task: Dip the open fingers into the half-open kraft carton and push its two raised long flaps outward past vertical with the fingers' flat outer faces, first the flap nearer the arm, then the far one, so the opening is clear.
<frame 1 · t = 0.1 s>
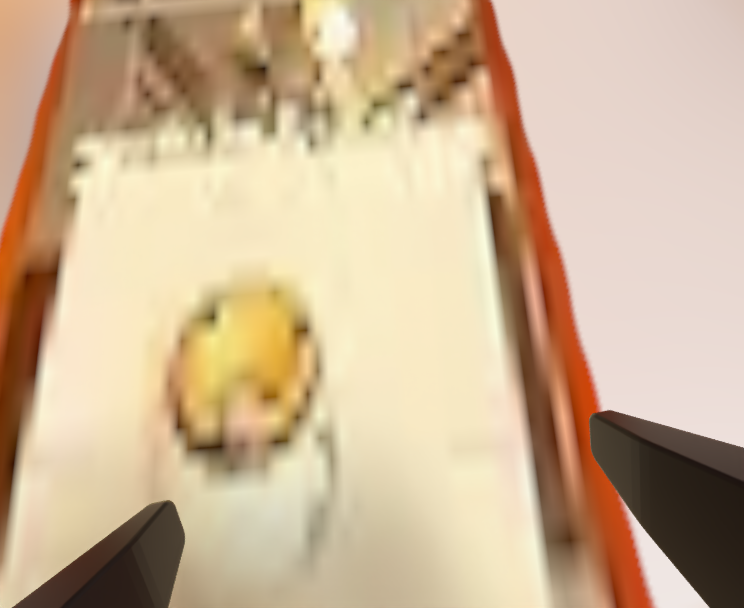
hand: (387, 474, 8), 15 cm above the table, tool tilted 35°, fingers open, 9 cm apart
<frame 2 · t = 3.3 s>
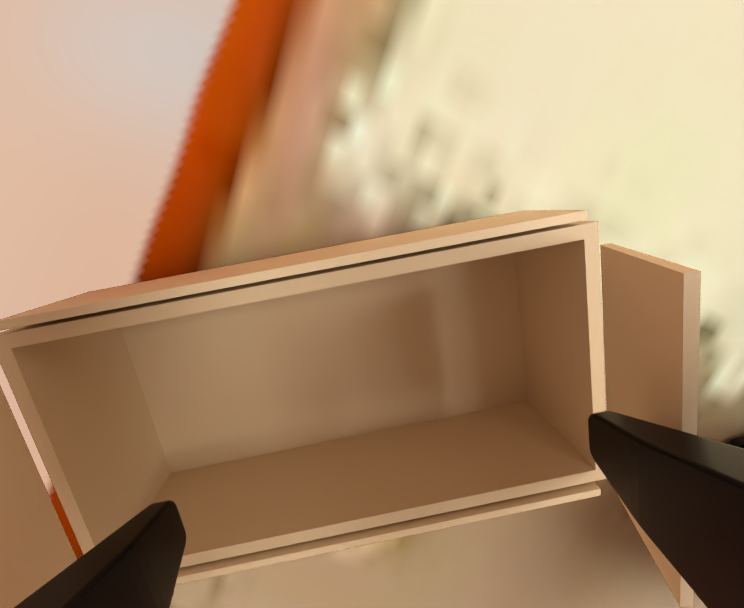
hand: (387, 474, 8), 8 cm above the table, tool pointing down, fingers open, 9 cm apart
carton: (334, 353, 16), on the table
inner flap: (642, 406, 9), point 7 cm above the table, hinge at 75.0°, touching gripper
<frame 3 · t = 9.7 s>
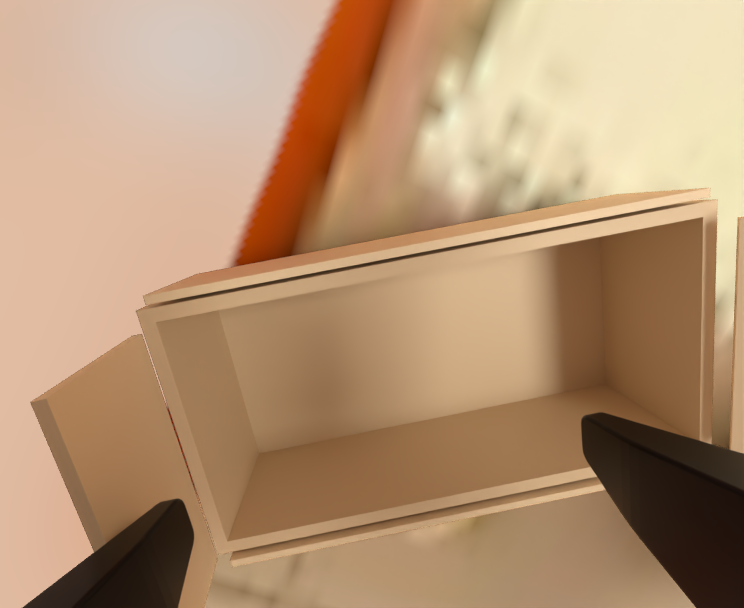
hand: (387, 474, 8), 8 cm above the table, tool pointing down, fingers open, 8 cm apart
carton: (419, 336, 16), on the table
outer flap: (151, 503, 9), point 8 cm above the table, hinge at 84.9°, touching gripper
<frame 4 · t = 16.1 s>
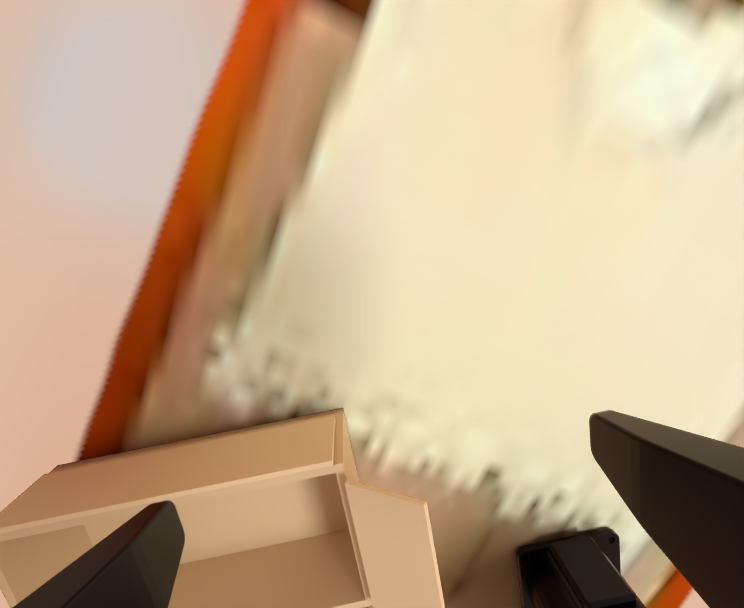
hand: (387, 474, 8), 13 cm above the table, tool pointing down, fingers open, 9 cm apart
carton: (221, 496, 23), on the table
inner flap: (397, 561, 17), point 7 cm above the table, hinge at 144.3°
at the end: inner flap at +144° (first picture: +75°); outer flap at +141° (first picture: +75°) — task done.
